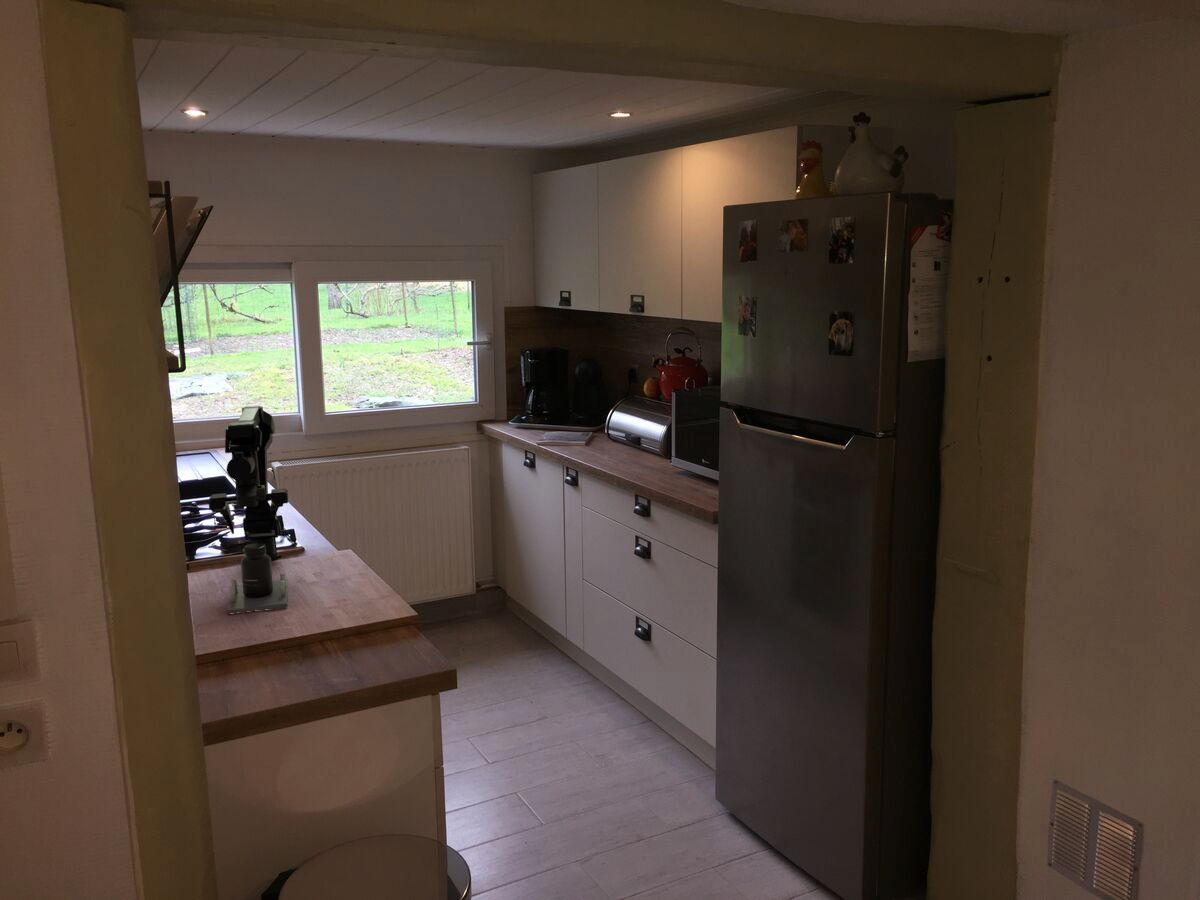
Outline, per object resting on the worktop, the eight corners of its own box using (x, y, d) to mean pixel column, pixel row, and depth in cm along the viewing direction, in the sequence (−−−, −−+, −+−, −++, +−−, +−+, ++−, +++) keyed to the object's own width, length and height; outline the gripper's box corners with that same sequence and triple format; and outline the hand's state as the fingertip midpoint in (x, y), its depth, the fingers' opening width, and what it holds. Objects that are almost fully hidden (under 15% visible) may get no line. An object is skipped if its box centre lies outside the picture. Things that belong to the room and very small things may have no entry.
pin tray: (233, 590, 239) (231, 571, 238) (288, 583, 242) (286, 565, 241) (227, 614, 222) (225, 595, 221) (287, 608, 225) (285, 588, 224)
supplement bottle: (246, 600, 227) (241, 551, 225) (241, 592, 233) (236, 544, 231) (276, 595, 230) (271, 546, 228) (271, 587, 236) (266, 539, 234)
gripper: (203, 481, 233) (210, 544, 236) (284, 475, 238) (290, 536, 241) (207, 472, 243) (214, 532, 246) (285, 466, 248) (290, 525, 251)
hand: (252, 531), depth 246 cm, fingers open, 9 cm apart
